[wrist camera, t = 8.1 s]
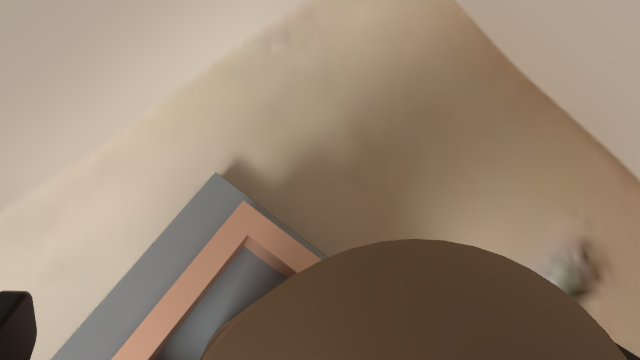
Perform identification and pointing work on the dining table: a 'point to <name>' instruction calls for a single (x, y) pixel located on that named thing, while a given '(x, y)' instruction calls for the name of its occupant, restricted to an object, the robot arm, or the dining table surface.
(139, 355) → the board
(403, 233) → the dining table surface
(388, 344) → the walnut pin
